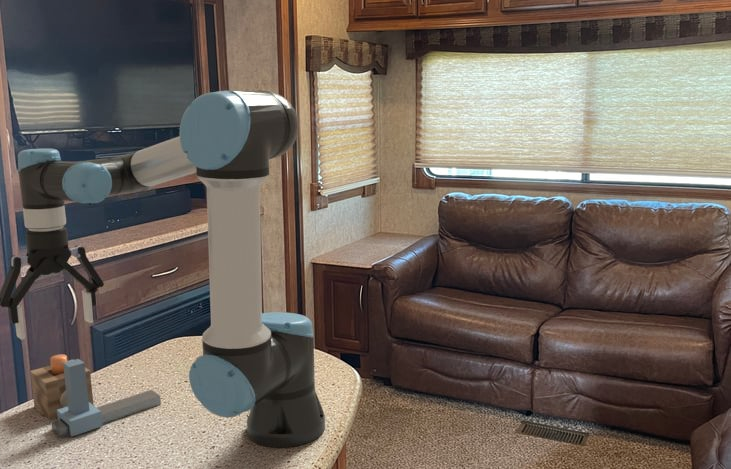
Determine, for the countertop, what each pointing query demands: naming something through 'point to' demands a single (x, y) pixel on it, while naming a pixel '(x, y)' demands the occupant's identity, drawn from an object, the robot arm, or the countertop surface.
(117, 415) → the rail
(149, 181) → the robot arm
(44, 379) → the wooden box
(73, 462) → the countertop surface
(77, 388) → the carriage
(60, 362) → the orange rounded cylinder
